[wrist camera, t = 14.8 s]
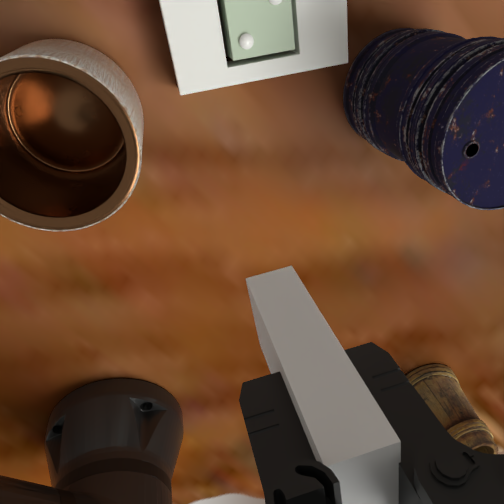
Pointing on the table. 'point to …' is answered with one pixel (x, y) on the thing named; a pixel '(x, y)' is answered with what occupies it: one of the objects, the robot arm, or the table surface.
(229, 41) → the button two dots
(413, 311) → the table surface
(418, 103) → the navy blue cylinder
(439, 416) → the wooden mug
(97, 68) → the planter
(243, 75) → the button panel
